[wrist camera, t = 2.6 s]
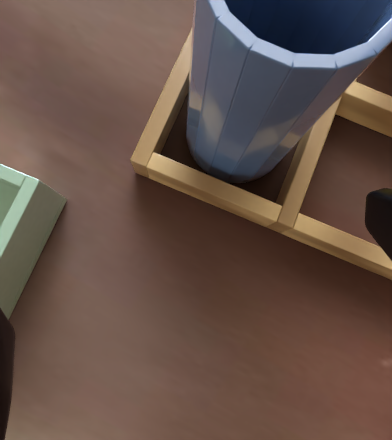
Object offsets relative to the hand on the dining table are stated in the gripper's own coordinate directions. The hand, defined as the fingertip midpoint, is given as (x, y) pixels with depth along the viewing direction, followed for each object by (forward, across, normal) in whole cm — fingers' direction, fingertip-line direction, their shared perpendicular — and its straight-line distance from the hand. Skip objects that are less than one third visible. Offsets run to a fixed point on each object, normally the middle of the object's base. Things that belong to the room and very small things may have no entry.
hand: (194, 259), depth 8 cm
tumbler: (+15, -6, +2) cm, 17 cm away
